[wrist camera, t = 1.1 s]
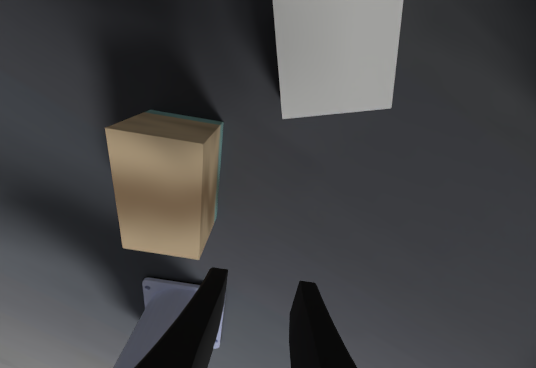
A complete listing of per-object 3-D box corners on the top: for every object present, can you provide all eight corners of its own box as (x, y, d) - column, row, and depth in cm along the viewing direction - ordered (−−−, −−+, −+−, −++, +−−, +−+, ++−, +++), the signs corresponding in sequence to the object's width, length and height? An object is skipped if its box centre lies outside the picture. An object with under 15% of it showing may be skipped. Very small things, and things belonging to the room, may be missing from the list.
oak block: (216, 216, 21) (199, 259, 16) (157, 207, 21) (122, 248, 16) (223, 121, 17) (203, 144, 13) (151, 109, 17) (104, 127, 13)
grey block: (360, 93, 16) (391, 108, 11) (282, 101, 16) (282, 118, 12) (366, -3, 14) (406, -31, 9) (275, 10, 14) (271, -11, 10)
